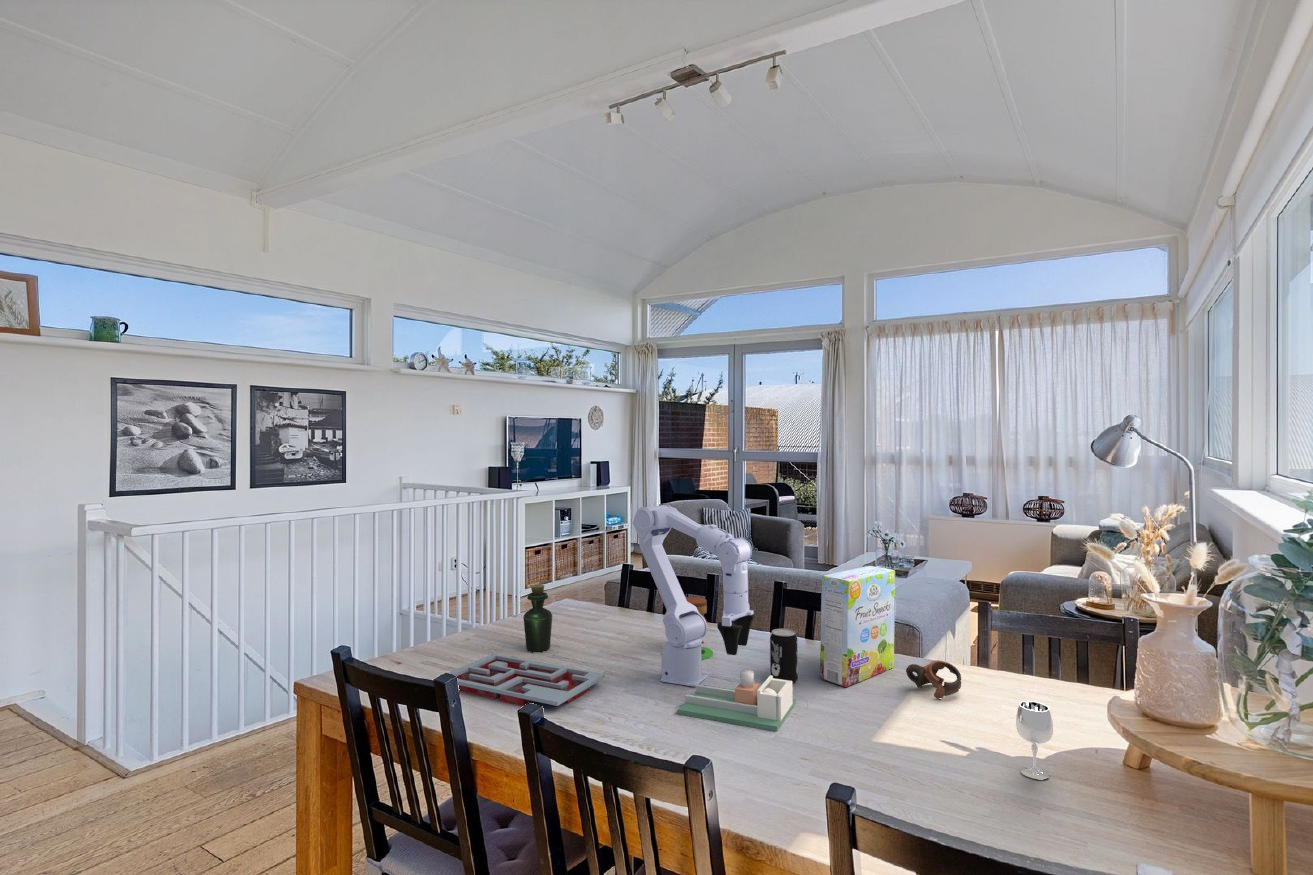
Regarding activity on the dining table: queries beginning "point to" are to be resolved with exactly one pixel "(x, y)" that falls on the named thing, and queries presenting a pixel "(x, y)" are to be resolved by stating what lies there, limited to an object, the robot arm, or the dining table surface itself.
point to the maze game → (524, 680)
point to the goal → (774, 699)
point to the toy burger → (702, 609)
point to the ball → (769, 691)
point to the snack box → (857, 624)
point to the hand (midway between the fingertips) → (737, 649)
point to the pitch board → (726, 708)
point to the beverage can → (784, 655)
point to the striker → (747, 689)
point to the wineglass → (1034, 727)
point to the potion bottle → (537, 621)
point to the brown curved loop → (935, 677)
